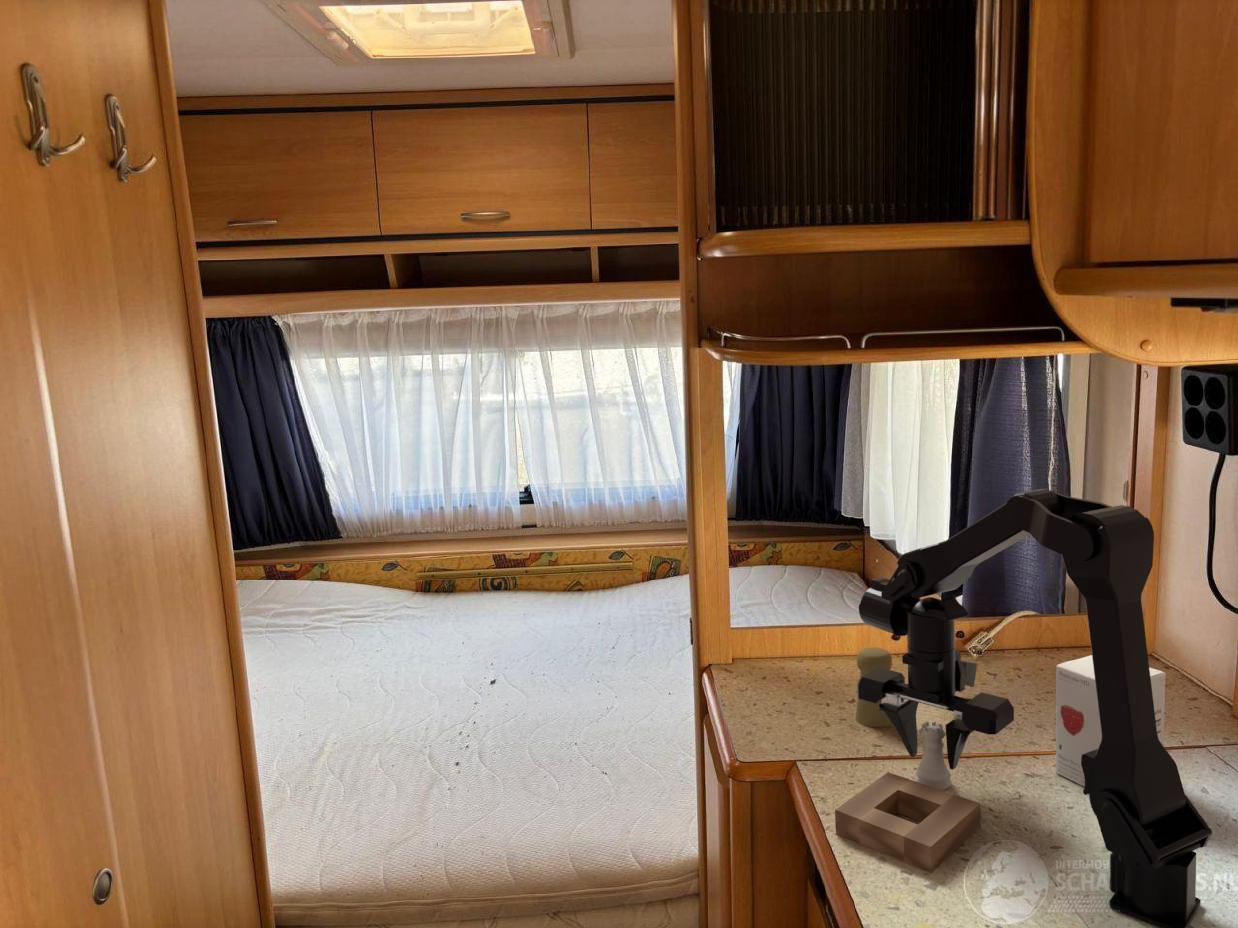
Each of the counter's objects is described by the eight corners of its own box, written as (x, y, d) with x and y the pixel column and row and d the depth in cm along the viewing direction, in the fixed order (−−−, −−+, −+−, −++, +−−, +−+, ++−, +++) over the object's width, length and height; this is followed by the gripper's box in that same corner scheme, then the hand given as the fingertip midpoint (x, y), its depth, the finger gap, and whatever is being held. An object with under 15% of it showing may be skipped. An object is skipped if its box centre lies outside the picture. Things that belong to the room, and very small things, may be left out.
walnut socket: (980, 827, 104) (980, 803, 103) (931, 872, 95) (930, 846, 95) (888, 794, 112) (887, 771, 112) (835, 833, 104) (834, 809, 104)
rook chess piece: (922, 772, 117) (921, 715, 116) (956, 781, 114) (955, 722, 113) (909, 786, 114) (908, 727, 113) (944, 796, 111) (943, 735, 110)
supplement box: (1052, 773, 115) (1052, 663, 113) (1100, 756, 119) (1101, 649, 117) (1116, 804, 107) (1118, 685, 105) (1165, 785, 110) (1167, 670, 108)
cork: (865, 729, 131) (863, 658, 130) (848, 713, 137) (846, 645, 136) (903, 724, 132) (902, 653, 131) (885, 708, 138) (883, 641, 137)
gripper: (1032, 643, 110) (1032, 760, 112) (896, 616, 124) (898, 722, 126) (993, 668, 103) (994, 794, 105) (853, 637, 116) (856, 749, 118)
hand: (933, 761), depth 114 cm, fingers open, 5 cm apart
